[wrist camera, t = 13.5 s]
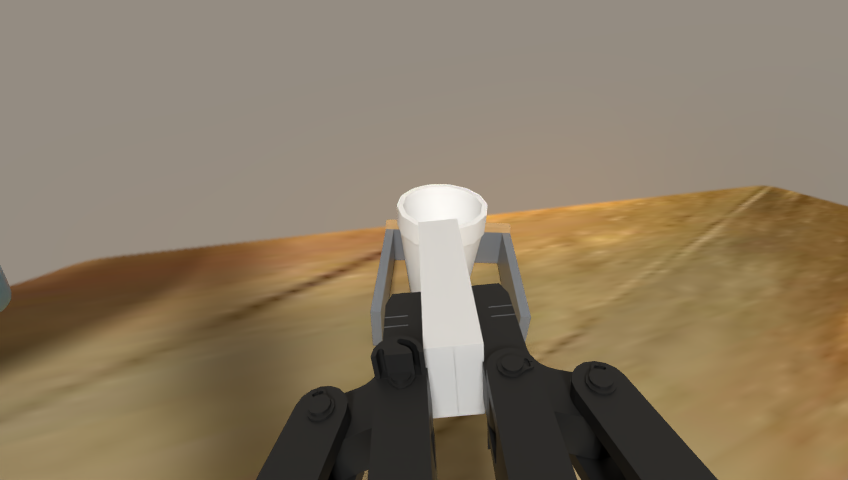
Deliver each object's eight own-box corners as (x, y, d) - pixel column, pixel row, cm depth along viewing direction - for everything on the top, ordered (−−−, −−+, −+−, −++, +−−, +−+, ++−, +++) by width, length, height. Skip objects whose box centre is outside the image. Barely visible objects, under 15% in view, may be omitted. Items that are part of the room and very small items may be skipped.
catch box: (373, 345, 45) (370, 305, 41) (388, 255, 58) (386, 219, 54) (522, 350, 44) (532, 311, 41) (503, 258, 57) (509, 223, 54)
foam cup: (485, 284, 53) (498, 194, 46) (462, 335, 46) (472, 238, 38) (417, 265, 56) (418, 177, 48) (385, 310, 49) (381, 216, 41)
